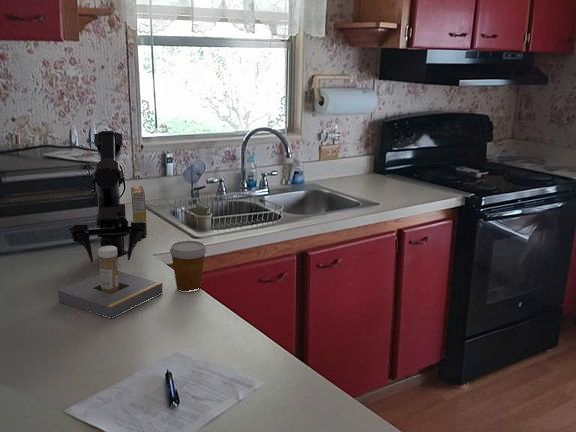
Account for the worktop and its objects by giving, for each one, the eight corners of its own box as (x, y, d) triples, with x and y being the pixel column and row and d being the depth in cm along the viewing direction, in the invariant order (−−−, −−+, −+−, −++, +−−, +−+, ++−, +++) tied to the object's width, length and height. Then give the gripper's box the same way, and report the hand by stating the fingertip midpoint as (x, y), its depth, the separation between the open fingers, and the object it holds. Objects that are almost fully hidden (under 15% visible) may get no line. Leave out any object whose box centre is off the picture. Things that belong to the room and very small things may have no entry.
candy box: (132, 228, 212) (130, 186, 208) (145, 228, 213) (143, 185, 209) (134, 236, 204) (132, 192, 200) (147, 235, 205) (145, 191, 201)
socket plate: (112, 279, 167) (111, 268, 166) (162, 294, 158) (162, 282, 157) (59, 301, 152) (58, 289, 151) (111, 319, 143) (110, 306, 142)
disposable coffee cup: (172, 296, 157) (171, 252, 154) (169, 282, 166) (168, 241, 163) (208, 293, 160) (208, 250, 156) (204, 280, 168) (203, 239, 165)
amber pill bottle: (123, 297, 156) (121, 247, 152) (109, 302, 152) (106, 252, 149) (111, 292, 158) (108, 243, 155) (97, 298, 155) (94, 248, 151)
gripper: (69, 194, 154) (68, 249, 147) (144, 191, 159) (147, 245, 152) (73, 214, 164) (73, 267, 157) (144, 211, 169) (147, 263, 162)
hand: (110, 260), depth 157 cm, fingers open, 9 cm apart
